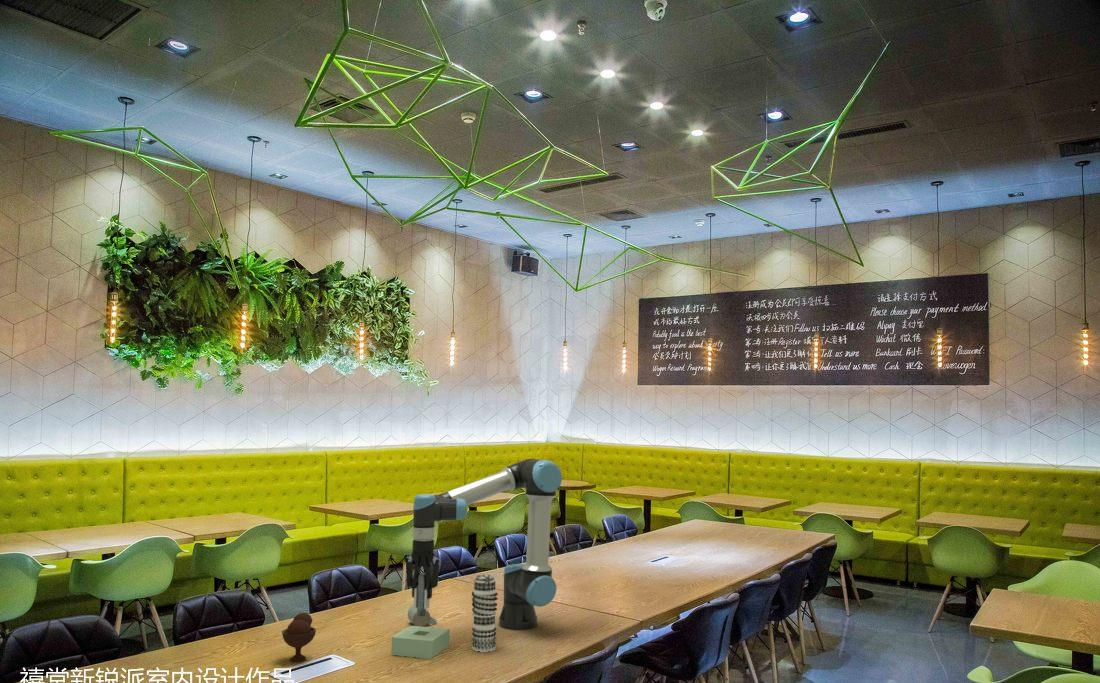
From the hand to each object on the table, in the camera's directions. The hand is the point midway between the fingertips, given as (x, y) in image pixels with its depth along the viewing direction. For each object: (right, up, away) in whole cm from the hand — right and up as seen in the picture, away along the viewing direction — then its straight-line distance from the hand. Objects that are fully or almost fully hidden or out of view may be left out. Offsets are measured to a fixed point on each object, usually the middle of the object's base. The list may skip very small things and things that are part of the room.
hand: (421, 607), depth 270 cm
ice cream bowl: (-39, -14, -12) cm, 43 cm away
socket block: (0, -15, -1) cm, 15 cm away
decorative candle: (+22, -15, +2) cm, 27 cm away
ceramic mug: (-5, -18, +31) cm, 36 cm away
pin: (0, -3, 0) cm, 3 cm away
